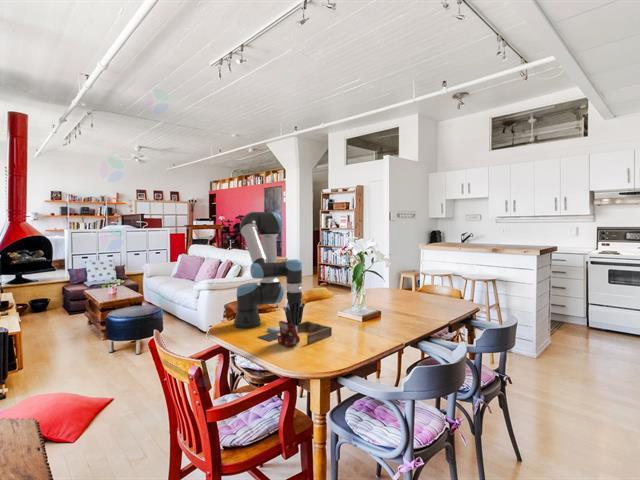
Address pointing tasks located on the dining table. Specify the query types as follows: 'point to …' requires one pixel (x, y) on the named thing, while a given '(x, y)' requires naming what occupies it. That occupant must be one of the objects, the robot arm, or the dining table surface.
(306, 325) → the walnut cubby
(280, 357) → the dining table surface
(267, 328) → the slate-blue stick
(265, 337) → the black hole patch
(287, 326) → the toy fire truck
